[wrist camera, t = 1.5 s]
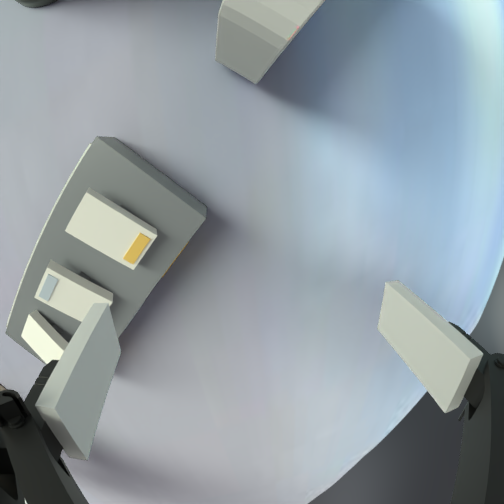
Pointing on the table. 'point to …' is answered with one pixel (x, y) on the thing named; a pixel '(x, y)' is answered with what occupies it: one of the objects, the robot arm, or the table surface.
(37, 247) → the switch unit
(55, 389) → the robot arm
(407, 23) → the table surface
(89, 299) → the rocker
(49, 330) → the rocker
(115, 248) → the rocker
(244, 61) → the rounded white slab
